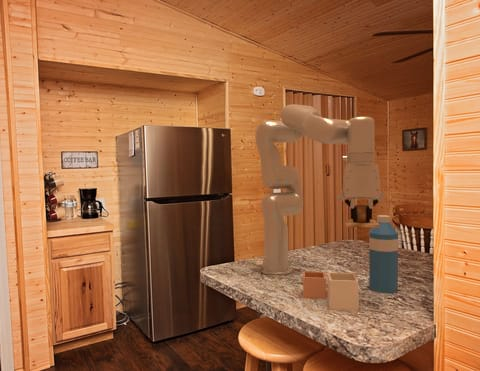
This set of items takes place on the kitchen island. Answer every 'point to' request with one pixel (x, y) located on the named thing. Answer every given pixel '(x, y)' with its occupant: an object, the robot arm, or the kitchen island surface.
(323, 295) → the orange open box
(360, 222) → the lid
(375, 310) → the kitchen island surface
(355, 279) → the cream open box
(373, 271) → the water bottle
